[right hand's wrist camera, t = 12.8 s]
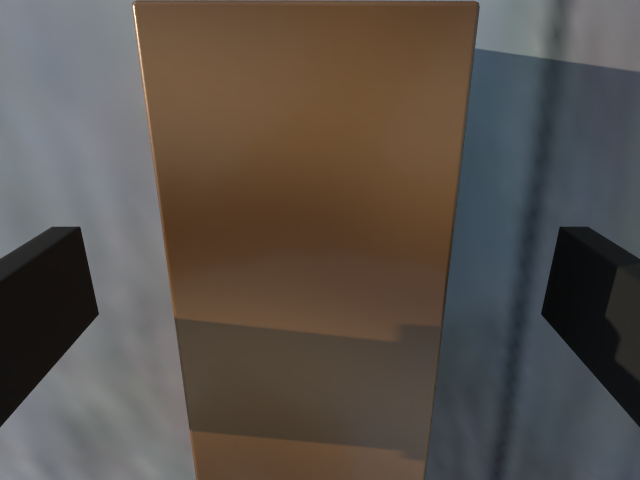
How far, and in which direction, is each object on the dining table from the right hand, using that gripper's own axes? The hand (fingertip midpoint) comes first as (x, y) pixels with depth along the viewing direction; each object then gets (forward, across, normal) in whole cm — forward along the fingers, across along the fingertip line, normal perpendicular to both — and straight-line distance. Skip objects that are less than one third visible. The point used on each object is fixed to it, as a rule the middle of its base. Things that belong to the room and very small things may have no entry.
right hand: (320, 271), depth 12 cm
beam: (+4, 0, -17) cm, 18 cm away
